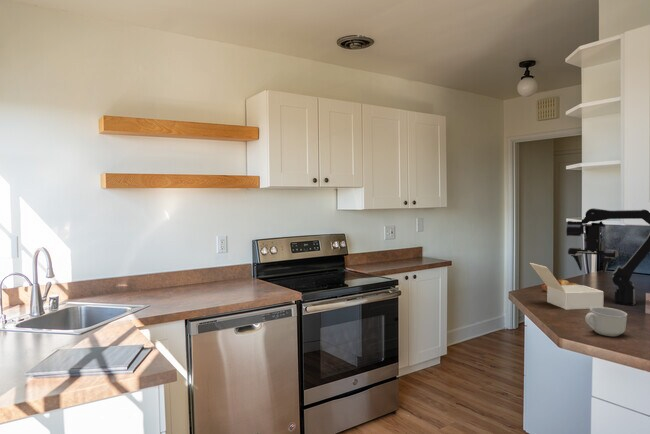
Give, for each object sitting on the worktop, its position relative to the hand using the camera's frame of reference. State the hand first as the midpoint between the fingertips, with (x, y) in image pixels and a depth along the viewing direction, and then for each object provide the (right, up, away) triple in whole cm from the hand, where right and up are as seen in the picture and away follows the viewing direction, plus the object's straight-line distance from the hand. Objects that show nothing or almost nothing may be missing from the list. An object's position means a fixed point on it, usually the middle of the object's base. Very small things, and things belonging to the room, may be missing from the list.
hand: (592, 271), depth 201 cm
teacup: (-25, -16, -48) cm, 57 cm away
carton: (-12, -14, -8) cm, 20 cm away
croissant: (-4, -13, +16) cm, 21 cm away
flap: (-24, -1, -9) cm, 26 cm away
